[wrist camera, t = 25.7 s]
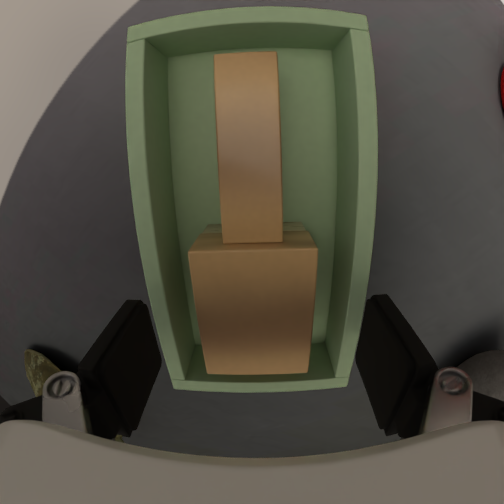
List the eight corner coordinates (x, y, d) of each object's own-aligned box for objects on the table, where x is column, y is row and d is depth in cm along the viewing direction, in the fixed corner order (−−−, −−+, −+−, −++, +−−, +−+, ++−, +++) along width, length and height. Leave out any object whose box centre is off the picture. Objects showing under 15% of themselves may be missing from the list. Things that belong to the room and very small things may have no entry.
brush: (197, 76, 11) (174, 53, 7) (300, 72, 11) (315, 46, 7) (216, 329, 15) (206, 374, 12) (299, 328, 15) (308, 373, 12)
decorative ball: (432, 420, 20) (463, 493, 11) (395, 389, 18) (436, 493, 9) (505, 356, 17) (552, 419, 8) (489, 304, 15) (564, 384, 6)
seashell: (5, 343, 16) (25, 445, 10) (71, 321, 20) (109, 416, 14) (46, 401, 21) (78, 479, 15) (99, 382, 26) (139, 455, 20)
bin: (156, 50, 11) (127, 26, 7) (342, 42, 10) (366, 14, 7) (187, 348, 17) (173, 389, 13) (334, 345, 16) (347, 386, 13)
